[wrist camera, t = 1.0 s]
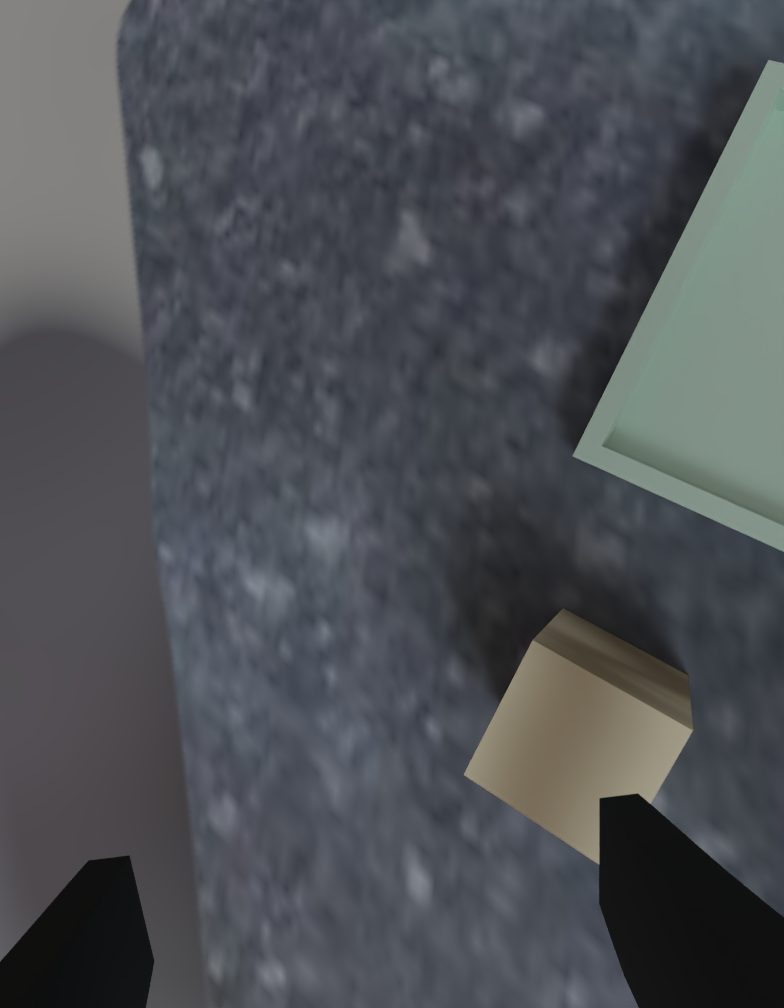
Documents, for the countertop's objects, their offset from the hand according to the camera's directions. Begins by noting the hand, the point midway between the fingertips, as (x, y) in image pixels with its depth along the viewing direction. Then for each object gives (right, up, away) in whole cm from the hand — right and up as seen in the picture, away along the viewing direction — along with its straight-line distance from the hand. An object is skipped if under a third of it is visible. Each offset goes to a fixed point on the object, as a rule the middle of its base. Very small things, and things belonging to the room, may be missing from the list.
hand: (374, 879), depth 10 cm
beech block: (+7, 0, +11) cm, 12 cm away
